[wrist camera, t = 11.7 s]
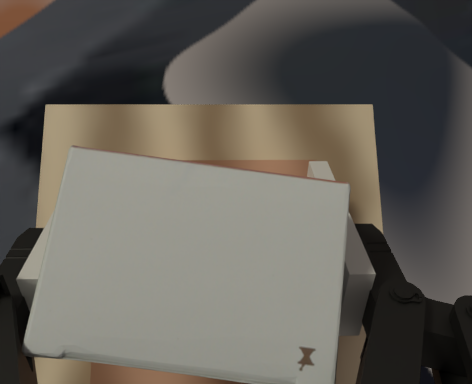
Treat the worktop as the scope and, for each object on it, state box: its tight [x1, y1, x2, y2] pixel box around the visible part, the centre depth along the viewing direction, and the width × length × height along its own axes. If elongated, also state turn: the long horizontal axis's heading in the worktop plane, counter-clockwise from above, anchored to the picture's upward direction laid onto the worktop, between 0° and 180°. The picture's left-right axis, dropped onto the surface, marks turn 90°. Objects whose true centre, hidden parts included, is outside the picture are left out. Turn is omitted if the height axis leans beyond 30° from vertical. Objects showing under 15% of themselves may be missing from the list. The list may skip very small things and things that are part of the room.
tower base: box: [34, 105, 383, 384], centre depth 25 cm, size 22×22×5 cm
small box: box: [22, 145, 351, 384], centre depth 16 cm, size 8×6×10 cm
